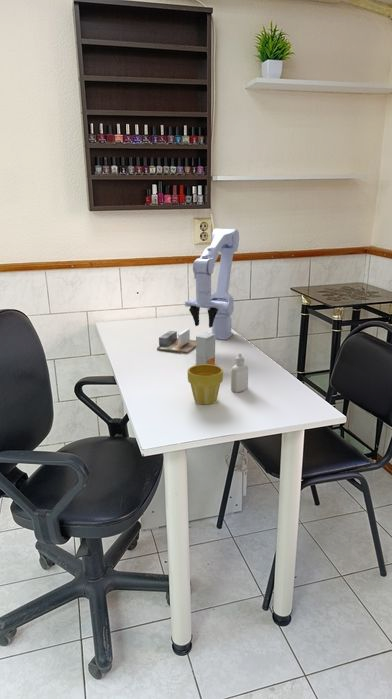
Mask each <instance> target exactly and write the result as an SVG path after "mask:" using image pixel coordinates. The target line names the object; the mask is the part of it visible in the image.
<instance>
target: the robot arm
mask: <svg viewBox="0 0 392 699" xmlns="http://www.w3.org/2000/svg"><path fill="white" fill-rule="evenodd" d="M211 240H212V242H211V244H210V246H207V247H206V248H204V250H203V252H202V253H201V255H200V257H199V258H196V259H195V260H194V261H193V263H192V272H193V276H194V277H193V278H194V280H195V300H186V301H184V306H185V307H186V308H187V307H189V312H190V314H191V316H192V318H193V322H194V325H195V327H197V326H199V325H200V310H201V309H203V308H205V309H206V310H207V314H208V328H211V333H212V334H215V340H216V339H217V340H218V339H219V340H228V339H229V338H230V337H231V336H232V335H233V334H234V332H233V331H232V317H231V316H232V315H233V313H234V308H235V307H234V306H235V304H234V303H235V302H234V301H235V299H234V297H233V296H232V295H231V294H230V293H229V289H230V287H229V286H230V281H231V274H232V273H231V272H232V266H233V257H234V255H235V254H234V253H235V252H237V251H238V250H239V249H238V248H239V242H240V233H239V230H238V229H237V228H214V229H213V231H212V233H211ZM219 255H220V261H219V270H218V276H217V283H216V289H215V292H213V293H212V275H213V273H214V268H215V267H216V265H215V263H216V262H217V260H218V258H219Z"/></svg>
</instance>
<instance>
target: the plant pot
mask: <svg viewBox="0 0 392 699" xmlns="http://www.w3.org/2000/svg"><path fill="white" fill-rule="evenodd" d="M223 380H224V369H223V368H222V367H221V366H220V365H216V364H215V365H211V364H200V365H196V364H195V365H192V366H190V367H189V368H188V369H187V381H188V383H189V384H190V388H191V391H192V396H193V400H194V402H195V403H196V404H199V405H202V406H203V405H204V406H205V405H206V406H207V405H213V404H215V403H216V402H217V400H218V397H219V396H218V395H219V392H220V387H221V383H222V382H223Z"/></svg>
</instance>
